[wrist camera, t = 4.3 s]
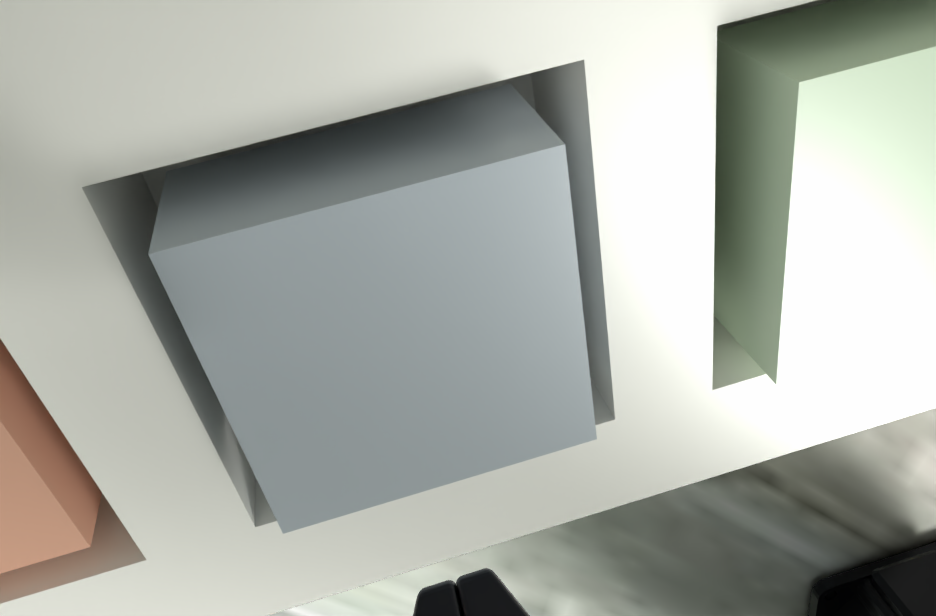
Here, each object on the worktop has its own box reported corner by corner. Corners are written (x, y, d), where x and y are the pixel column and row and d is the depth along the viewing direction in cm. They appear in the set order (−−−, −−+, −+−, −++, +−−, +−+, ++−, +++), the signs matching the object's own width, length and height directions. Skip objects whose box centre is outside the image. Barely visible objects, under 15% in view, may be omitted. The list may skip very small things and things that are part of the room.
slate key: (548, 349, 16) (597, 438, 14) (278, 428, 15) (283, 533, 13) (509, 83, 13) (565, 144, 10) (166, 170, 12) (147, 254, 10)
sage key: (948, 234, 17) (1054, 300, 14) (704, 304, 16) (775, 385, 14) (1008, -43, 13) (1156, -12, 11) (705, 33, 13) (799, 82, 11)
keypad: (957, 257, 21) (1107, 354, 17) (-193, 593, 18) (-303, 792, 15) (1083, -296, 14) (1373, -327, 11) (-729, 110, 11) (-1190, 257, 8)
